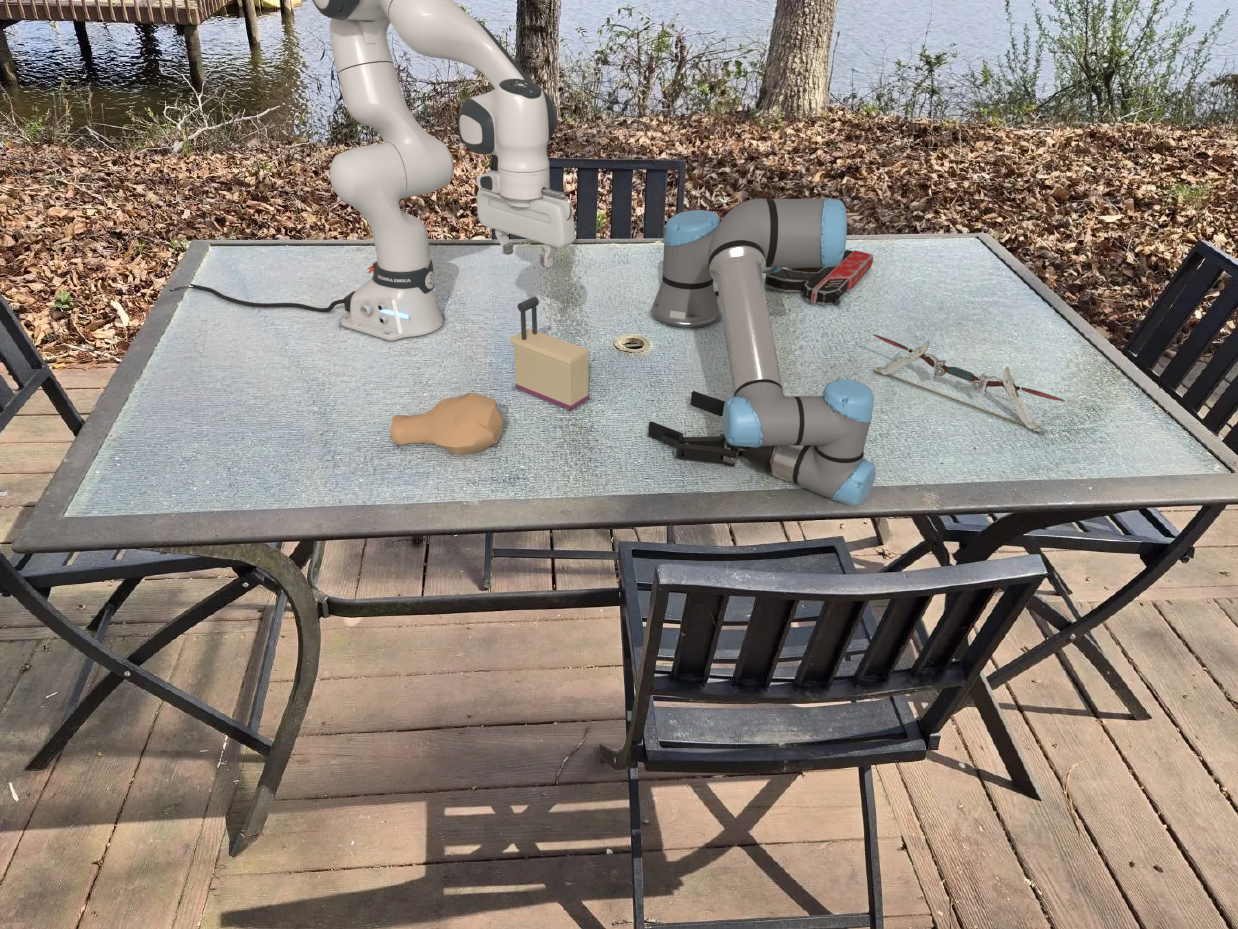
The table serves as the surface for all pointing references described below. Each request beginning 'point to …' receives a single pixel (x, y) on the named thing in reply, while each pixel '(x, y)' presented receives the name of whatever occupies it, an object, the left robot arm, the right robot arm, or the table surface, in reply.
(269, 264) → the table surface
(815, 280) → the gun
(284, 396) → the table surface
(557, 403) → the chest
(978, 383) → the bow
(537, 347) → the lid
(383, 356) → the table surface
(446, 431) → the squash
